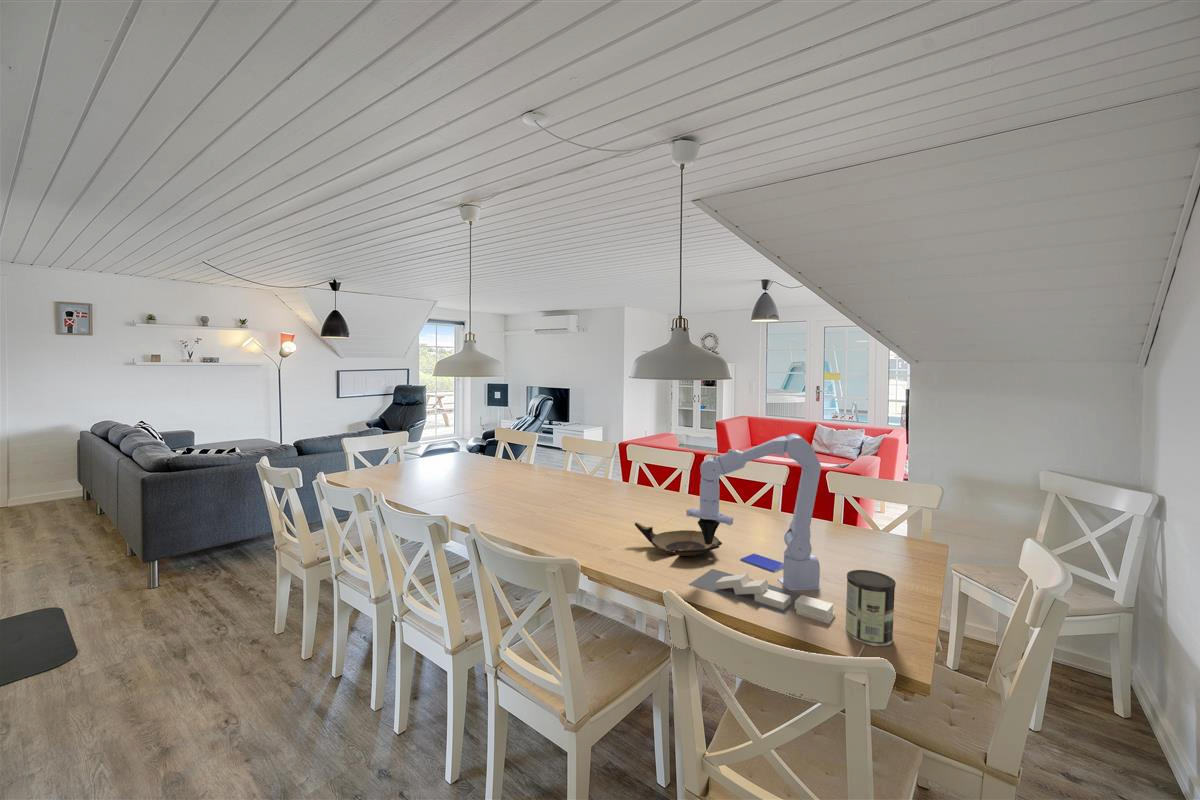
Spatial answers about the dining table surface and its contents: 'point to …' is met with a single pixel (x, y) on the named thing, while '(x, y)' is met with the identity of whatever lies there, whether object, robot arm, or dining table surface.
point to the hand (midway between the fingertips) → (708, 543)
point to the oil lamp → (679, 541)
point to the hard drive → (763, 562)
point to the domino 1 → (732, 581)
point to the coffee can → (870, 607)
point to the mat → (714, 575)
